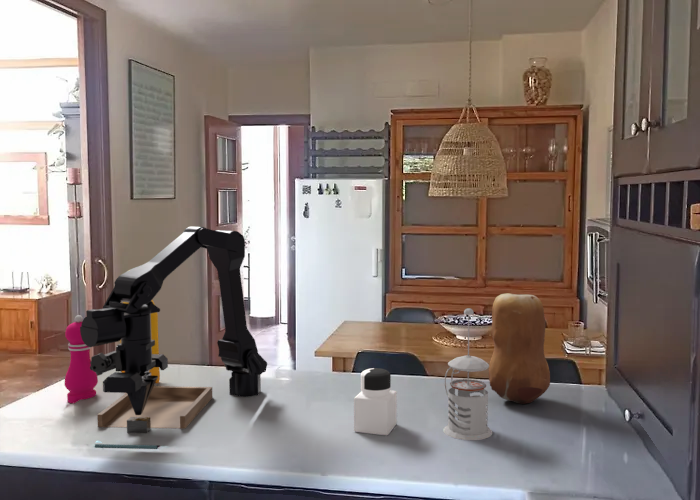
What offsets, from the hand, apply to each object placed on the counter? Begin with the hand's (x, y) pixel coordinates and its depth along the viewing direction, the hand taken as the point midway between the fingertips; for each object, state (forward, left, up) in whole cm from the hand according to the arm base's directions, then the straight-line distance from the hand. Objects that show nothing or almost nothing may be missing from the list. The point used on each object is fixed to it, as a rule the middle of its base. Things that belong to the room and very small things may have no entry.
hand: (138, 414), depth 132 cm
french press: (-65, -6, -4) cm, 65 cm away
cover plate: (0, +3, -5) cm, 6 cm away
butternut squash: (-79, -25, -4) cm, 83 cm away
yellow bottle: (+13, -34, -4) cm, 37 cm away
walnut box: (0, -11, -4) cm, 12 cm away
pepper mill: (+22, -21, -4) cm, 31 cm away
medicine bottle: (-47, -6, -4) cm, 48 cm away
